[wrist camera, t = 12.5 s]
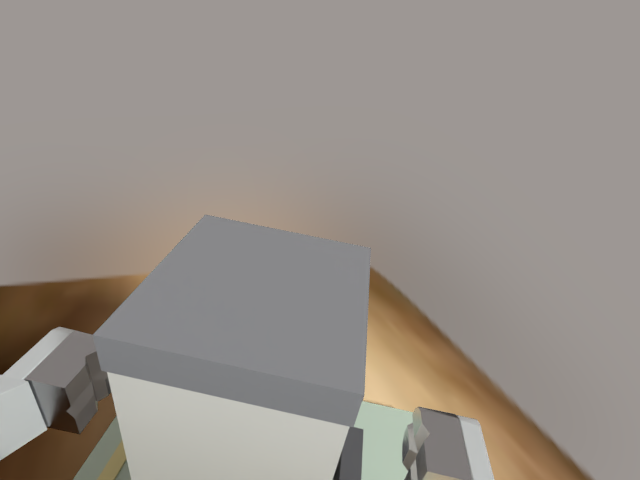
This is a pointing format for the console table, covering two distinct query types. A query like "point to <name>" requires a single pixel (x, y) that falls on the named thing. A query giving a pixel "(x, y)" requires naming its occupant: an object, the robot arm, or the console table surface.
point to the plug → (240, 356)
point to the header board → (352, 469)
